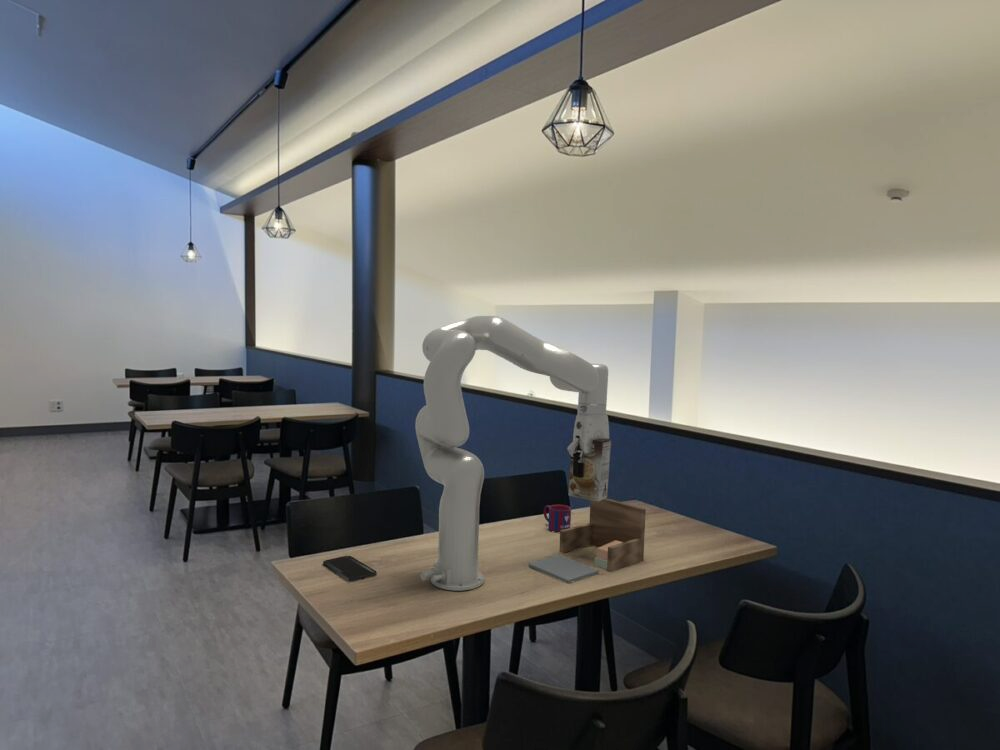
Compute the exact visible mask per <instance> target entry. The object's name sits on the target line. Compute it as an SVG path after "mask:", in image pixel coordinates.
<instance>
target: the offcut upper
mask: <svg viewBox="0 0 1000 750" xmlns="http://www.w3.org/2000/svg"><path fill="white" fill-rule="evenodd" d="M620 543H623V542H620V541H617V540H615V541H613V542H611V543H608V544H606V545H603V546H601V547H597V548H596V557H597V558H600V559H603V560H607V558H608V547H610V546H613V545H617V544H620Z"/></svg>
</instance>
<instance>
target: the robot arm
mask: <svg viewBox="0 0 1000 750" xmlns="http://www.w3.org/2000/svg"><path fill="white" fill-rule="evenodd" d="M421 347H422V352H423V355H424V357H425V358H426V359H427V361H429V363H428V365H427V367H426V371H425V373H424V379H423V393H424V397H425V405H423V407H422V408H420V409H419V411H418V413H417V416H416V418H415V434H416V438H417V442H418V447H419V451H420V455H421V459H422V463H423V466H424V469H425V472H426V473H427V475H428V476H429V478H430V479H432V480H433V481H435V482H437V483H439V484H441V485H443V490H442V494H441V497H440V501H439V507H438V548H437V549H438V551H437V553H438V554H437V562H435V563H433V564H434V566H433V568H431V570H425V571H422V572H420V580H421V581H427V580H430V579H431V580H430V582H431V583H432V585H433V586H435V587H437V588H439V589H442V590H446V591H456V592H459V591H461V592H462V591H469V590H470V591H471V590H474V589H477V588H478V587H480V586H482V585H483V584H484V581H485V577H484V574H483V572H481V571H480V570H478V569H479V567H478V566H479V538H480V537H479V535H480V534H479V533H480V504H481V503H480V502H481V494H482V488H483V484H484V480H485V468H484V465H483V463H482V460H480V458H479V457H478V456H477V455H475V454H474V453H472V452H470V451H468V450H466V449H463V448H459V447H461V446H462V445H464V444H465V443H466V442H467V440H468V439H469V435H470V424H469V420H468V415H467V411H466V407H465V401H464V397H463V392H462V391H463V390H462V385H461V384H462V378H463V374H464V372H465V370H466V369H467V366H469V364H470V363H471V362H472V361H473V359H474V357H475V354H476V352H477V351H478V350H480V351H488V352H489V353H493V354H494V355H496V356H498V357H500V358H502V359H504V360H505V361H507V362H509V363H512V365H514V366H517V368H520V369H521V370H524V371H527V372H530V373H534V374H538V375H543V376H545V377H546V376H547V377H549V381H550V383H551V384H552V386H554V387H555V388H556V389H558V390H561V391H567V392H574V393H578V398H577V399H578V400H577V407H576V410H577V414H576V416H575V421H574V428H573V433H572V434H573V435H572V436H573V442H571V443H570V444H569V445H568V446H567V452H568V453H569V456H570V459H571V458H572V461H574V462H573V476H575V477H579V478H583V472H584V463H582V461H583V459H584V457H585V454H591V453H592V441H593V440H595V439H610V425H609V417H608V416H609V415H608V414H607V405H608V404H607V403H608V402H607V401H608V386H609V383H608V382H609V368H608V366H607V365H606V364H602V363H590V362H589V361H587V360H585V359H584V358H582V357H580V356H578V355H577V354H575V353H572V352H570V351H568V350H566V349H564V348H561V347H559V346H557V345H554V344H552V343H549V342H547V341H544V340H542V339H540V338H538V337H537V336H535V335H534V334H533V335H532V334H531V333H529V332H527V331H526V330H525V329H522V328H520V327H519V326H517V325H516V324H514V323H512V322H510V321H509V320H507V319H506V318H503V317H500V316H498V315H477V316H473V317H469V318H466V319H463V320H460V321H457V322H454V323H451V324H448V325H445V326H441V327H438V328H436V329H434V330H432V331H430V332H429V333H427V335H425V337H424V339H423V342H422V344H421ZM579 444H580V448H581V450H578V447H577V446H578V445H579ZM576 447H577V448H576ZM575 448H576V449H575ZM578 453H579V454H580V457H579V456H578Z"/></svg>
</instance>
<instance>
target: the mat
mask: <svg viewBox="0 0 1000 750" xmlns="http://www.w3.org/2000/svg"><path fill="white" fill-rule="evenodd" d="M528 566H529V568H531V569H533V570H535V569H536V570H535V571H538V572H540V573H543V574H546V575H547V574H548V576H550V577H552V578H554V577H555V578H554V579H557V580H559V579H560V580H559V581H561V580H562V582H564V581H565V582H564V583H566V582H568V583H569V584H571V583H573V582H572V581H574V582H577V581H580V580H583V579H586V578H589V577H592V576H595V575H598V574H599V572H600V571H599V569H597V568H594V567H591V566H590V565H589V566H588V565H586V564H583V563H581V562H579V561H576V560H573V559H570V558H567V557H565V556H563V555H560V554H557V555H556V554H555V555H554V556H551V557H550V556H549V557H546V558H542V559H540V560H536V561H532V562H528ZM594 574H595V575H594ZM588 576H589V577H588ZM585 577H586V578H585ZM582 578H583V579H582ZM579 579H580V580H579ZM576 580H577V581H576ZM570 582H571V583H570ZM568 583H567V584H568Z"/></svg>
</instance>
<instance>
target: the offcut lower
mask: <svg viewBox="0 0 1000 750" xmlns="http://www.w3.org/2000/svg"><path fill="white" fill-rule="evenodd" d="M594 566H595V567H598V568H600V569H601V568H602V569H604V570H607V560H603V559H600V558H597V556H596V557H594Z"/></svg>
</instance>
